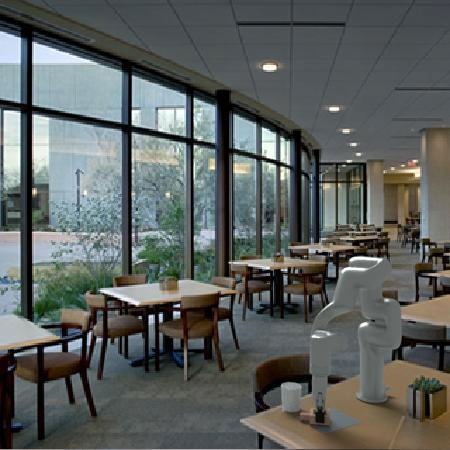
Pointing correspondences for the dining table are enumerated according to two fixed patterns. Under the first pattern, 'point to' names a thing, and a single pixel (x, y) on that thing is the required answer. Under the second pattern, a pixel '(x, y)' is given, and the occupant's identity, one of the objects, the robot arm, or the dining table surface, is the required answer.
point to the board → (334, 422)
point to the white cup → (291, 397)
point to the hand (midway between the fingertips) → (320, 417)
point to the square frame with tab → (311, 416)
